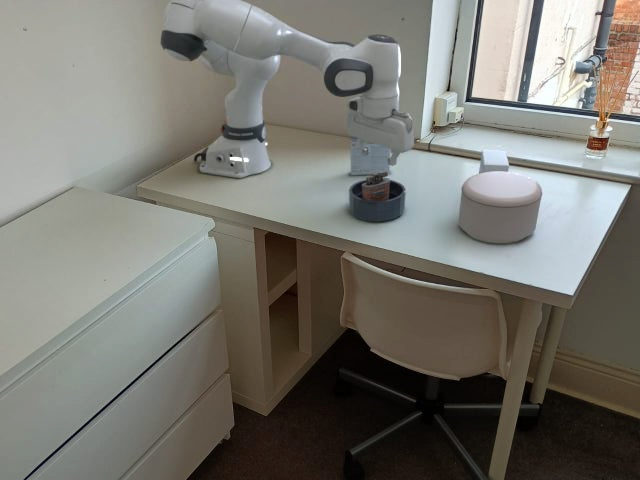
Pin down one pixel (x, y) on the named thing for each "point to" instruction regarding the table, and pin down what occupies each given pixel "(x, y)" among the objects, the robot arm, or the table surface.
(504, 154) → the cosmetics box
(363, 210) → the bowl
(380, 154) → the ink box
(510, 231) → the container
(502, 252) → the table surface
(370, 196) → the lighter
